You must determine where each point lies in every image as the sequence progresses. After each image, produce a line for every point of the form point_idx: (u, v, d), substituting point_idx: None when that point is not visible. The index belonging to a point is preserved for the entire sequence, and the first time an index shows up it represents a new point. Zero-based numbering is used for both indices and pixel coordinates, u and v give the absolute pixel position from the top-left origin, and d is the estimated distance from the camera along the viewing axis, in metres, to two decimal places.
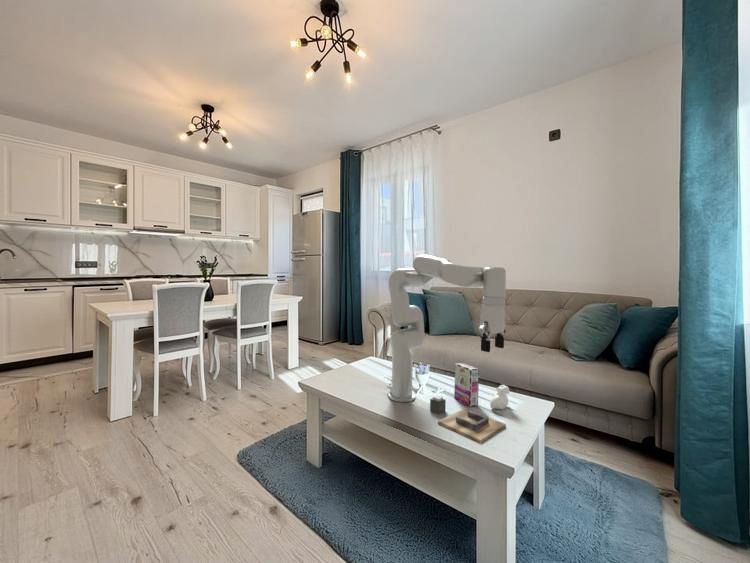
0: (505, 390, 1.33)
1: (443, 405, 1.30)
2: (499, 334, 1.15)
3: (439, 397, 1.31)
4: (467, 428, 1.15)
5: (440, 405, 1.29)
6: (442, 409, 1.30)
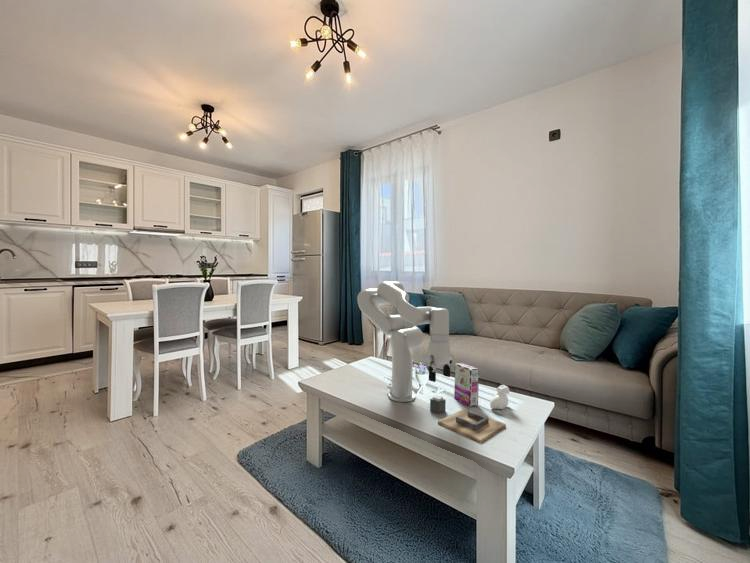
0: (505, 390, 1.33)
1: (443, 405, 1.30)
2: (446, 365, 1.34)
3: (439, 397, 1.31)
4: (467, 428, 1.15)
5: (440, 405, 1.29)
6: (442, 409, 1.30)
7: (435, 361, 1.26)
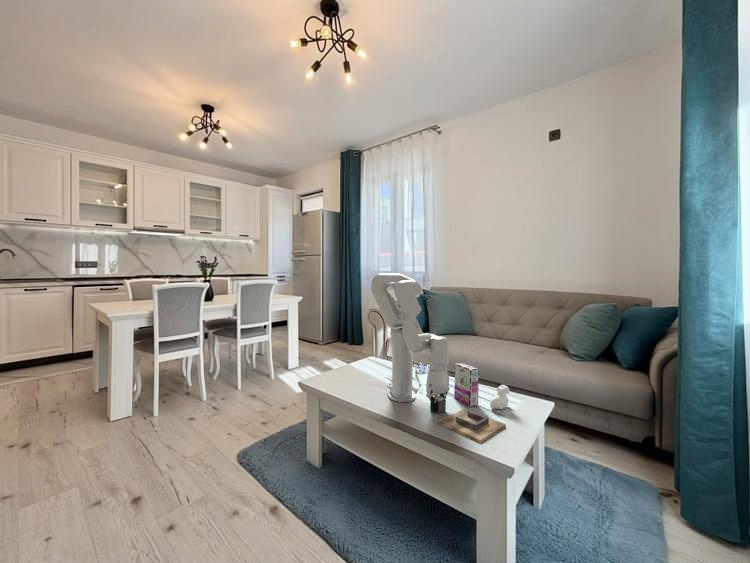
0: (505, 390, 1.33)
1: (443, 405, 1.30)
2: None
3: (439, 397, 1.31)
4: (467, 428, 1.15)
5: (440, 405, 1.29)
6: (443, 409, 1.30)
7: (434, 390, 1.27)
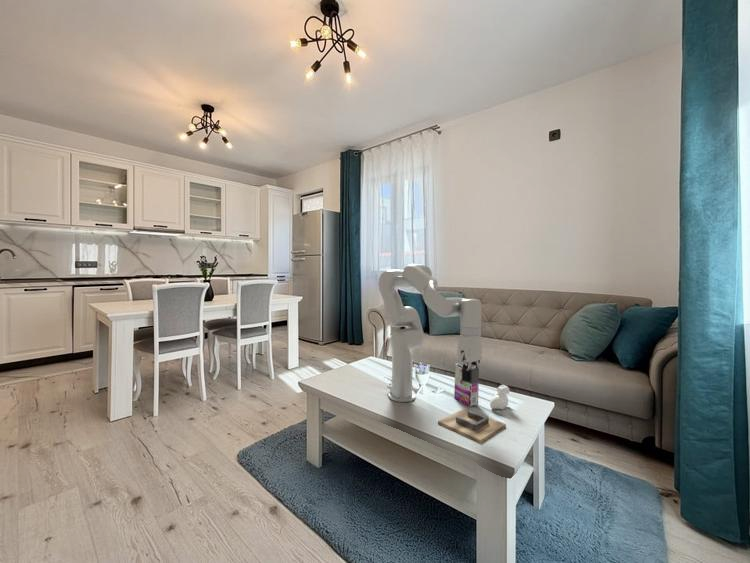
0: (505, 390, 1.33)
1: (476, 374, 1.18)
2: None
3: (472, 365, 1.18)
4: (467, 428, 1.15)
5: (473, 373, 1.16)
6: (476, 379, 1.17)
7: (466, 357, 1.14)
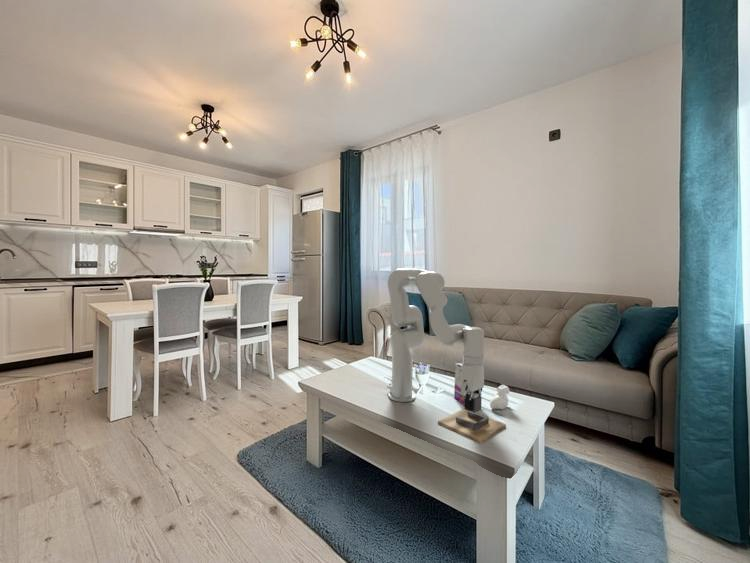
0: (505, 390, 1.33)
1: (479, 403, 1.18)
2: None
3: (474, 394, 1.18)
4: (467, 428, 1.15)
5: (476, 402, 1.16)
6: (478, 407, 1.18)
7: (469, 386, 1.14)
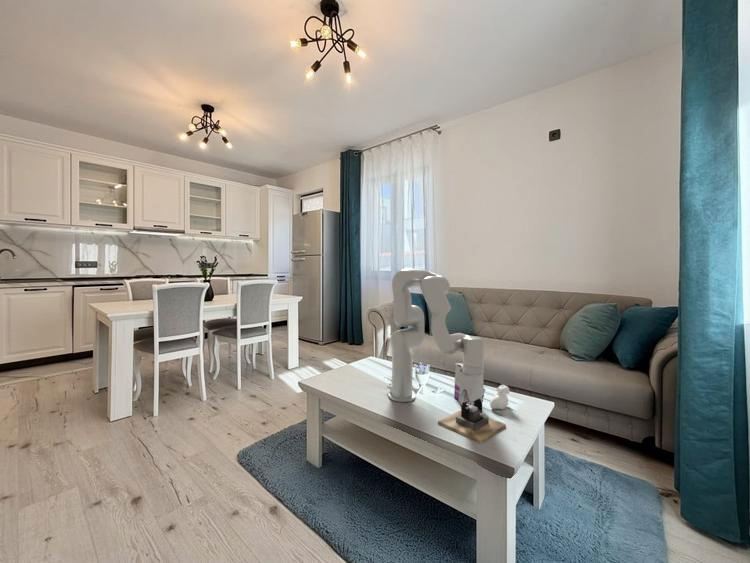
0: (505, 390, 1.33)
1: (478, 416, 1.18)
2: (478, 399, 1.22)
3: (473, 407, 1.19)
4: (467, 428, 1.15)
5: (475, 416, 1.17)
6: (477, 421, 1.18)
7: (468, 396, 1.15)
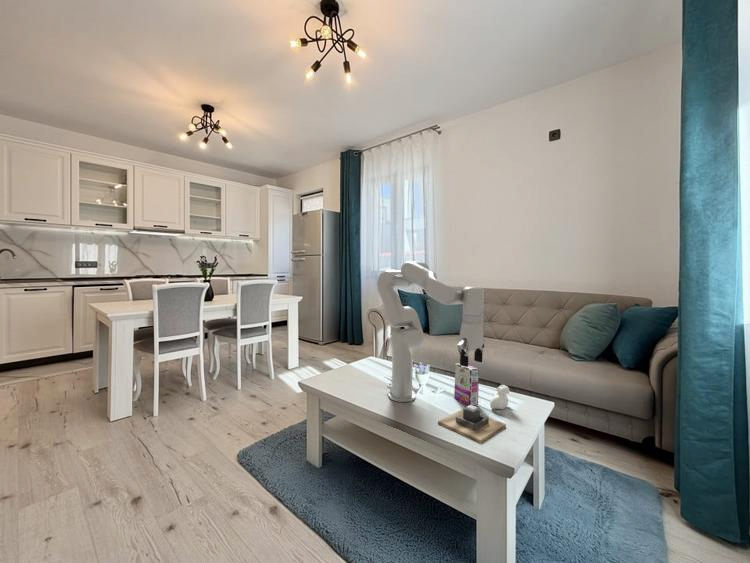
0: (505, 390, 1.33)
1: (478, 416, 1.18)
2: (478, 349, 1.23)
3: (473, 407, 1.19)
4: (467, 428, 1.15)
5: (475, 416, 1.17)
6: (477, 421, 1.18)
7: (468, 344, 1.15)
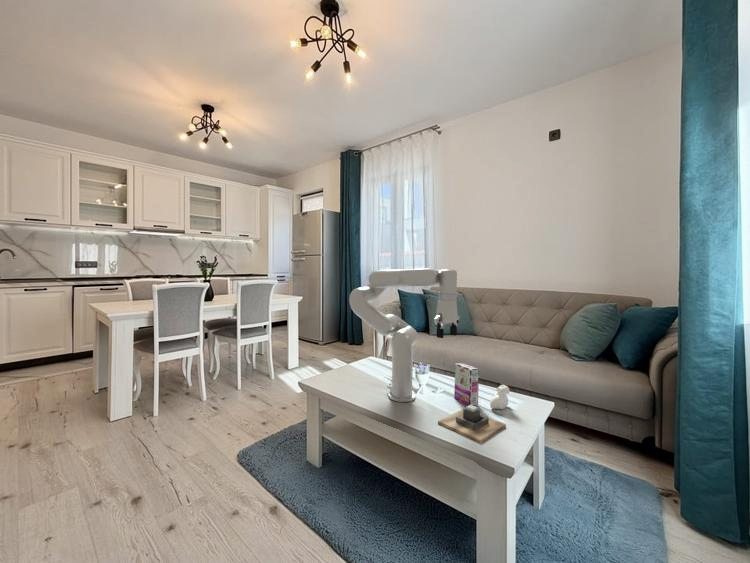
0: (505, 390, 1.33)
1: (478, 416, 1.18)
2: (453, 324, 1.41)
3: (473, 407, 1.19)
4: (467, 428, 1.15)
5: (475, 416, 1.17)
6: (477, 421, 1.18)
7: (443, 318, 1.33)
